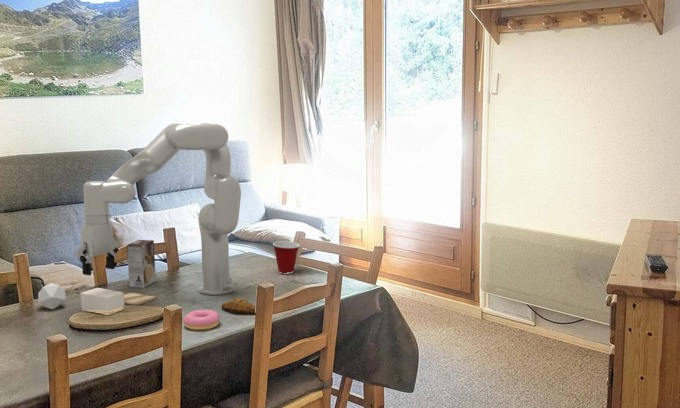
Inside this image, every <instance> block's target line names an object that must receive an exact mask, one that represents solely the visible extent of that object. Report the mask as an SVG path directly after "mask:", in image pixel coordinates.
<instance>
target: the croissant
mask: <svg viewBox="0 0 680 408" xmlns="http://www.w3.org/2000/svg"><path fill="white" fill-rule="evenodd" d="M255 307H256V306H255V305H254V304H253V303H250V302H249V301H248V300H247V299H244V298H241V297H237V298H234V299H233V300H228V301H225V302H224V303H222V304H221V307H220V308H221V309H222V310H224V311H225V312H230V313H233V314H239V315H240V314H241V315H256V314H255Z"/></svg>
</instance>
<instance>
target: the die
mask: <svg viewBox="0 0 680 408" xmlns="http://www.w3.org/2000/svg"><path fill="white" fill-rule="evenodd" d="M37 295H38V304H40V305H41V306H42V307H44V308H46V309H48V310H51V311H54V310H55V309H57V308H58V307H60V306H62V304H63V303H64V302H65V301H66V290H65V289H64V288H63V287H62V286H61V285H60V284H56V283H53V282H50V283H48V284H46V285H45V286H42V288H41V289H40V290H39V292H37Z"/></svg>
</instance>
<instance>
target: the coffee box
mask: <svg viewBox="0 0 680 408" xmlns="http://www.w3.org/2000/svg"><path fill="white" fill-rule="evenodd" d="M126 250H127V251H126V252H127V253H126V254H127V268H128V283H129V287H130V288H143V289H144V288H147V287H148V286H149V285H152V284H153V283H155V282H157V278H156V260H155V259H156V258H155V240H151V239H144V240H143V239H138V240H136V241H134V242H130V243H129V244H126Z"/></svg>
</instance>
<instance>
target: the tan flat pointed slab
mask: <svg viewBox="0 0 680 408" xmlns="http://www.w3.org/2000/svg"><path fill="white" fill-rule="evenodd" d="M157 299H158V297H157V296H153V295H148V294H147V295H146V294H140V293H135V292H126V293H124V304H126V305H132V306H133V305H134V306H140V305H144V304H146V303H149V302H151V301H154V300H157Z"/></svg>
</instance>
